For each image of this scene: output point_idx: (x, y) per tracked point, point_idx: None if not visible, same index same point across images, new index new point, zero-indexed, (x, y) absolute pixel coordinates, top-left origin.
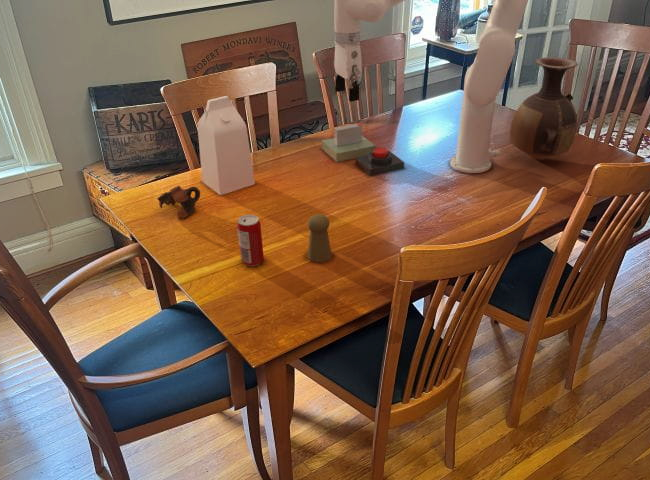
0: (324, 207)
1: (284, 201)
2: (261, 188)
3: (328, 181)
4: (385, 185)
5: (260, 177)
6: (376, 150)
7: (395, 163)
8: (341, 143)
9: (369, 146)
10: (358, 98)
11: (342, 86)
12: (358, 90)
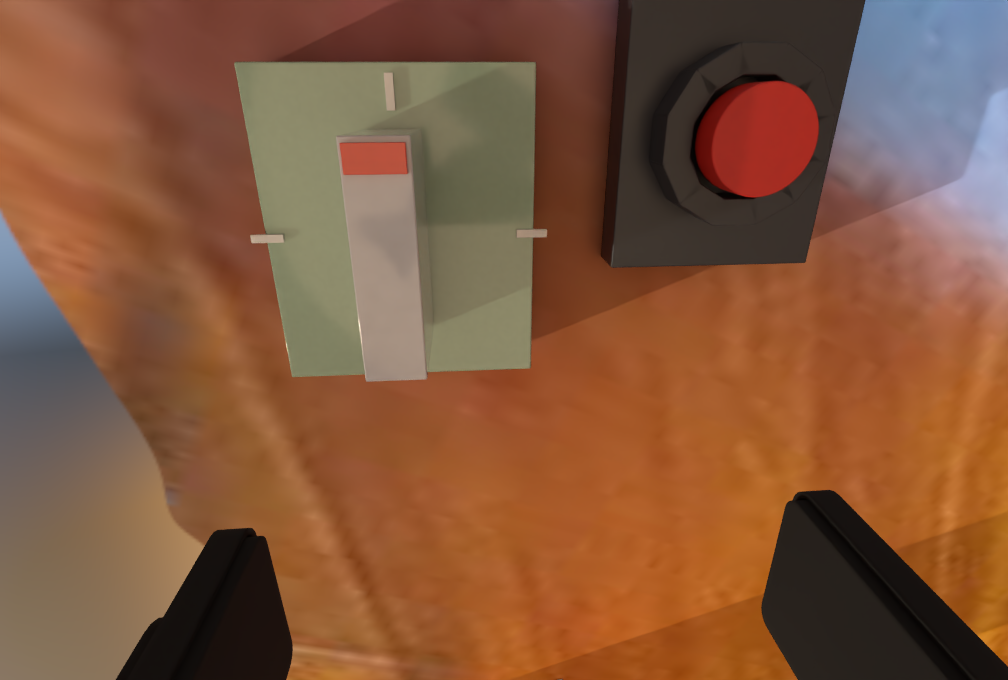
0: (886, 532)
1: (750, 628)
2: (608, 667)
3: (702, 452)
4: (921, 225)
5: (515, 655)
6: (747, 169)
7: (840, 61)
8: (431, 303)
9: (528, 115)
10: (838, 508)
11: (241, 640)
12: (963, 643)
